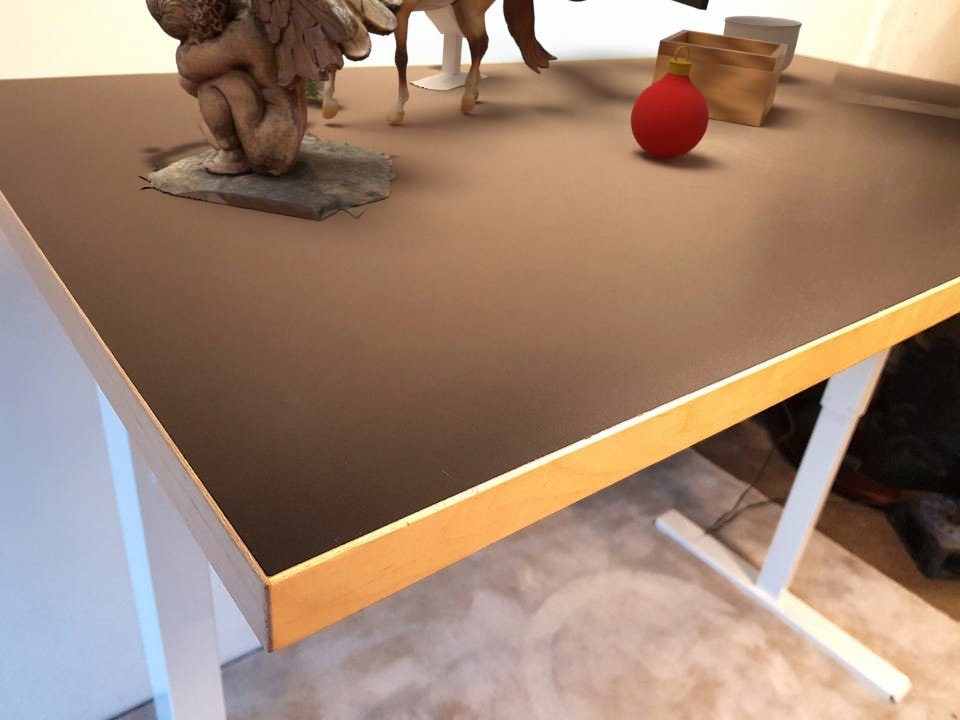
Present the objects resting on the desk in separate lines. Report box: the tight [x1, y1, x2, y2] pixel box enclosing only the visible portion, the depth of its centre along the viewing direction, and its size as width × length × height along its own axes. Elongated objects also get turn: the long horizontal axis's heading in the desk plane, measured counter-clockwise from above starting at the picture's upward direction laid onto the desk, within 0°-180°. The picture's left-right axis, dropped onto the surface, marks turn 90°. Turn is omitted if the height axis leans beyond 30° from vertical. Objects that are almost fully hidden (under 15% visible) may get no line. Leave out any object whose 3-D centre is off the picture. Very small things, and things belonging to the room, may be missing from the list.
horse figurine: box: [321, 0, 558, 124], centre depth 76 cm, size 31×8×21 cm, turn 135°
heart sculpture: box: [411, 4, 489, 91], centre depth 94 cm, size 16×5×18 cm, turn 153°
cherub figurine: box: [145, 0, 403, 222], centre depth 58 cm, size 18×18×18 cm
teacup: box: [722, 15, 803, 73], centre depth 119 cm, size 14×11×8 cm
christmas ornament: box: [630, 46, 710, 159], centre depth 73 cm, size 7×7×10 cm
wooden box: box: [651, 29, 788, 128], centre depth 95 cm, size 13×13×8 cm
